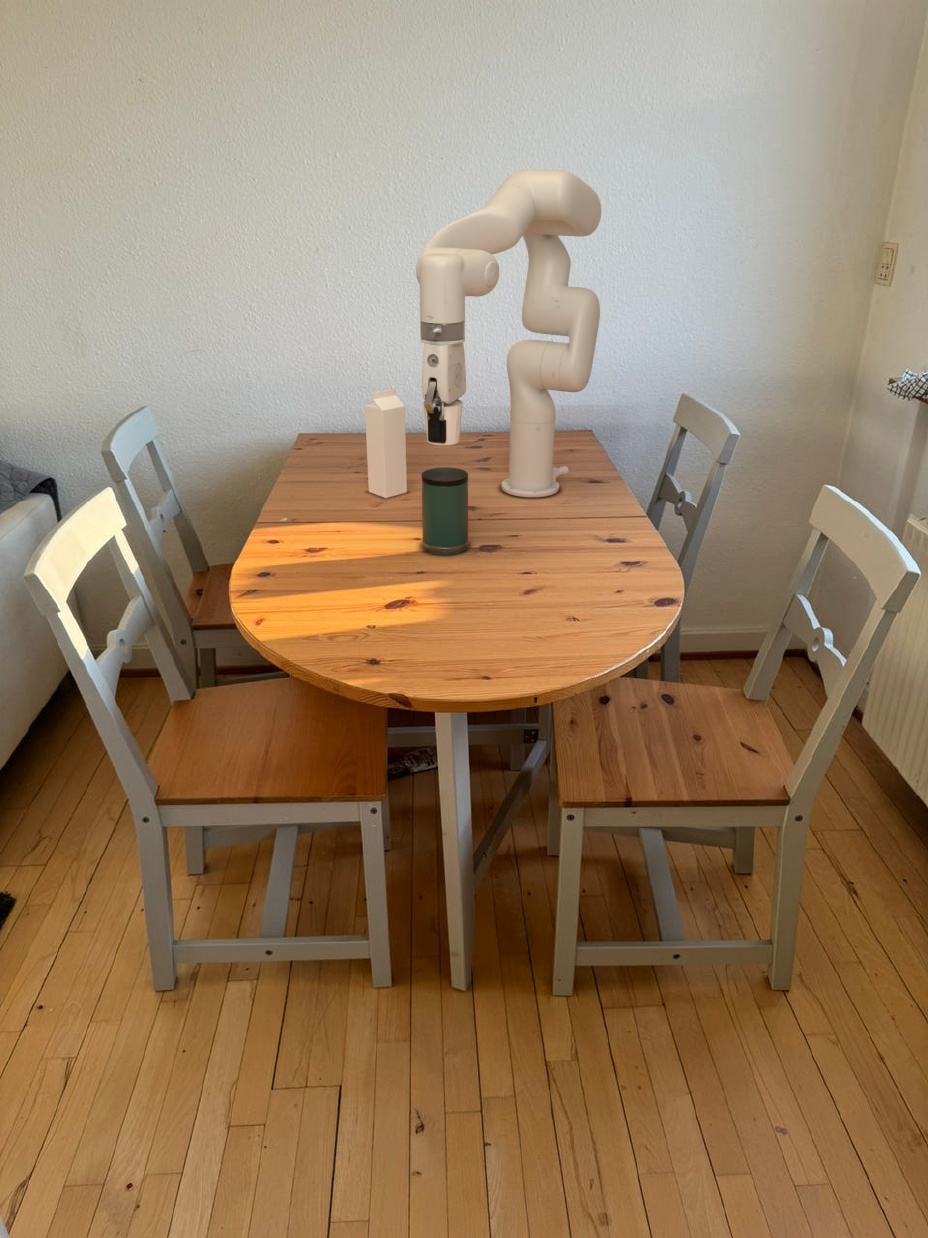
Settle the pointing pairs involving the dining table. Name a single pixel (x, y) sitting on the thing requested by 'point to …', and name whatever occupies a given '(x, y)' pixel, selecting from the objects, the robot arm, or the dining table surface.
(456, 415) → the shot glass
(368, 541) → the dining table surface
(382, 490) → the milk
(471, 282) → the robot arm
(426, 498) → the green can
